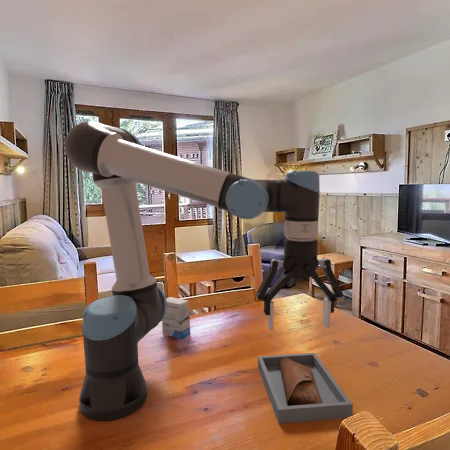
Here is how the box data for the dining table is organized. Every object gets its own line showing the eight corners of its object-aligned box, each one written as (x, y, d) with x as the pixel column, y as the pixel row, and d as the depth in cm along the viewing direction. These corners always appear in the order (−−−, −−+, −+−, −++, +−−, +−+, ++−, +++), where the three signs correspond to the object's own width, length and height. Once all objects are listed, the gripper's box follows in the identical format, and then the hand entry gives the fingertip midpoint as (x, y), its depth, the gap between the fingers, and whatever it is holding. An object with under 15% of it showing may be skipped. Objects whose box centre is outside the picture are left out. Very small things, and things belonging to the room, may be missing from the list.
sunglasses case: (327, 409, 77) (311, 384, 76) (299, 424, 77) (283, 399, 77) (310, 366, 95) (297, 346, 94) (287, 379, 95) (274, 359, 95)
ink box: (191, 334, 119) (190, 300, 117) (181, 339, 115) (180, 304, 113) (171, 328, 123) (170, 296, 122) (161, 334, 119) (160, 300, 118)
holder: (278, 423, 74) (278, 409, 74) (257, 367, 97) (257, 356, 97) (352, 417, 76) (352, 404, 75) (314, 363, 98) (315, 352, 98)
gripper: (250, 242, 77) (249, 335, 80) (360, 240, 79) (356, 331, 82) (244, 236, 84) (244, 322, 87) (346, 235, 87) (342, 318, 89)
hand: (298, 326), depth 85 cm, fingers open, 13 cm apart
